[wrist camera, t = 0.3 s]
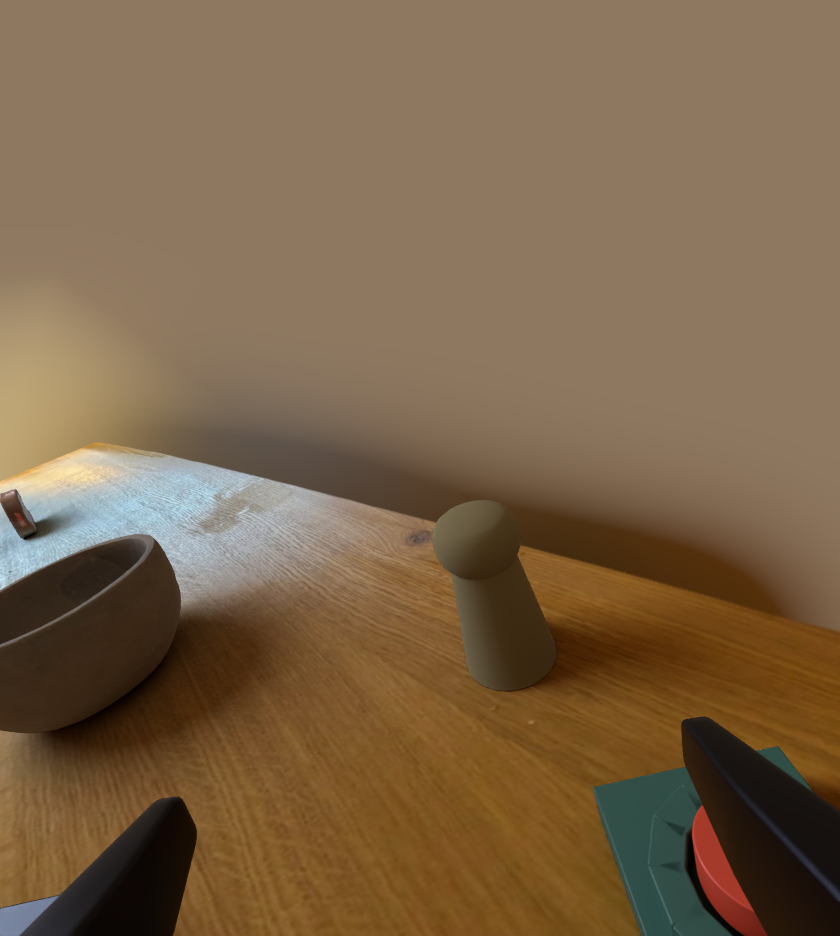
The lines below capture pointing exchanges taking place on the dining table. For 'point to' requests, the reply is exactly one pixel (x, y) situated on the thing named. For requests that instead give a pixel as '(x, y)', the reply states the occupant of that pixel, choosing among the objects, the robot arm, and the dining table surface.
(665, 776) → the button block
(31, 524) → the tin
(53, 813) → the dining table surface
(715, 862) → the button
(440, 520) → the brown pawn
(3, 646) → the bowl
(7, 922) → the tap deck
